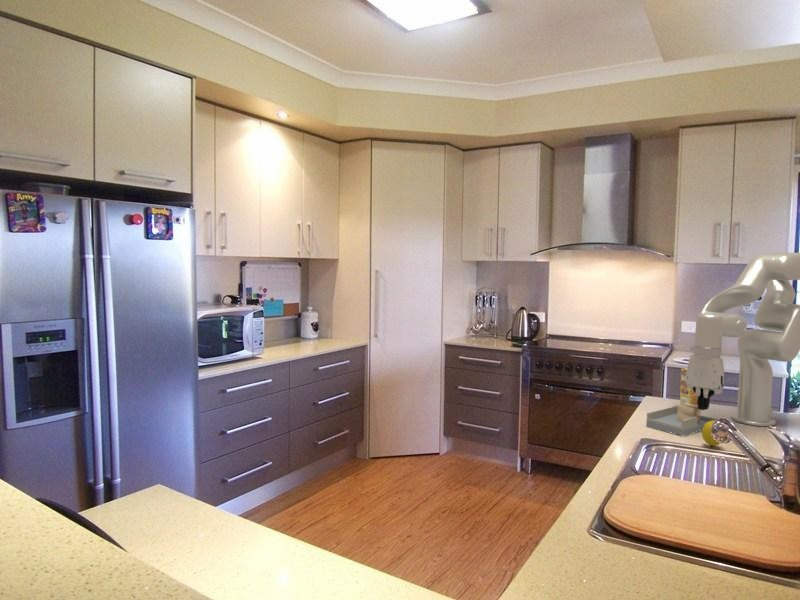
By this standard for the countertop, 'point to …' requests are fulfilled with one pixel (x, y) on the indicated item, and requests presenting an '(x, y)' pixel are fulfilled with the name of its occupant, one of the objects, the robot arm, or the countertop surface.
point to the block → (688, 412)
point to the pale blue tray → (675, 421)
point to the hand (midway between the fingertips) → (702, 408)
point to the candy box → (687, 391)
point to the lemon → (708, 434)
